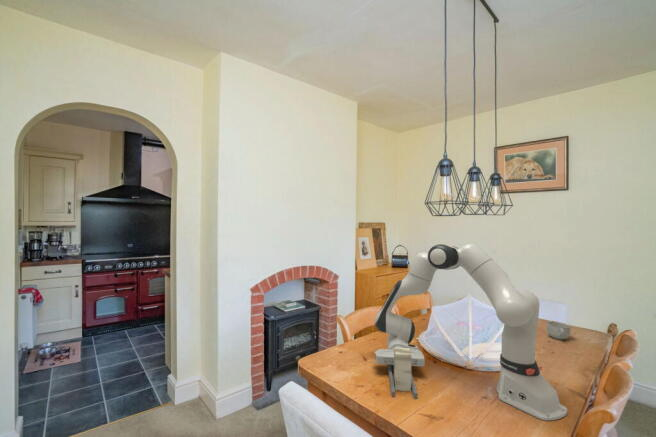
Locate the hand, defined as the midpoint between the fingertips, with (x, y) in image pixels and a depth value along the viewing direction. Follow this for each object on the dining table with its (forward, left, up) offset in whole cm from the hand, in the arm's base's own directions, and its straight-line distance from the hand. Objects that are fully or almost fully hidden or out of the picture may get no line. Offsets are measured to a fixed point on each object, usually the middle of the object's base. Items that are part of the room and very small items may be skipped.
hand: (401, 366), depth 126 cm
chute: (0, 0, -8) cm, 8 cm away
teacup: (+6, -111, -8) cm, 112 cm away
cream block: (-3, +2, -6) cm, 7 cm away
